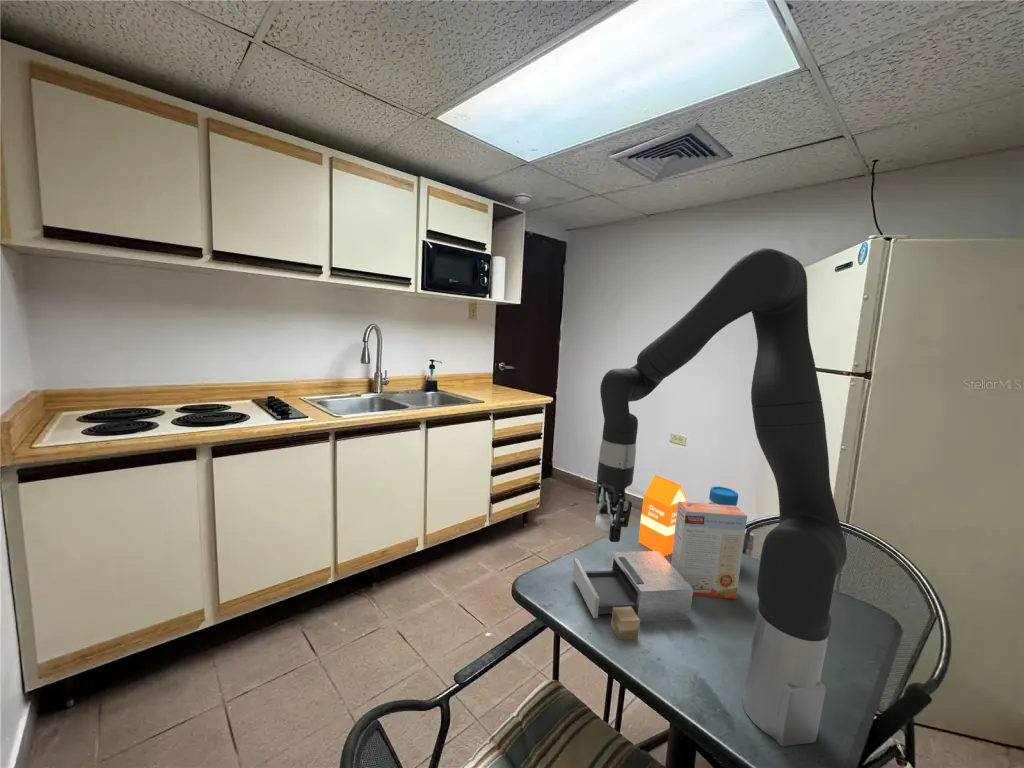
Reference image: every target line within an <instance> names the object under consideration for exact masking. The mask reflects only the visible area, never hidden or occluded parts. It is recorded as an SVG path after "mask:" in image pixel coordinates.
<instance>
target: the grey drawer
mask: <svg viewBox="0 0 1024 768" xmlns="http://www.w3.org/2000/svg"><path fill="white" fill-rule="evenodd" d="M582 566H583V565H582V564H581V562H580V560H579V559H578V558H575V557H574V559H573V567H572V568H573V569H572V577H573V580H574V581H575V583H576V585H577V588H578V590H579V591H580V594H581V596H582V597H583V600H584V602H585V603H586V606H587V608H588V610H589V611H590V614H591V615H592V618H593V619H598V616H599V615H600V614H601V615H603V614H612V611H613V607H632V609H633V610H634V612H636V605H637V597H638V594H637V593H636V591H635V590H634V588H633V587H632V586H631V584H630V583H629V581H628V580H627V579H626V577H625V576H624V574H623V573H622V571H621V570H611V569H609V570H584V568H583V567H582Z"/></svg>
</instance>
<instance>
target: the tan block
mask: <svg viewBox="0 0 1024 768" xmlns="http://www.w3.org/2000/svg"><path fill="white" fill-rule="evenodd" d="M640 623H641V622H640V619H639V618H638V616H637V615H636V613H635V612H634V610H633V609H632V607H613V611H612V613H611V622H610V626H611V628H612V629H613V631H614V633H615V636H616V637H617V639H618V640H633V639H635V640H636V639H639V631H640V626H641V625H640Z"/></svg>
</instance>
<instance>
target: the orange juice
mask: <svg viewBox="0 0 1024 768" xmlns="http://www.w3.org/2000/svg"><path fill="white" fill-rule="evenodd" d="M678 502H688V501H687V499H686V496H685V493H684V491H683V487H682V484H679V483H677V482H674V481H671V480H669V479H667V478H665V477H661V476H659V475H657V474H654V475H653V477H652V480H651V481H650V483H649V485H648V486H647V489H646V491H645V492H644V494H643V499H642V509H641V514H640V524H639V525H640V526H639V533H638V534H639V535H638V543H639V544H640V545H643V546H645V547H647V548H648V549H650V551H659V552H660V554H661V555H662V556H663V557H667V556H669V555H672V551H673V542H674V533H675V524H676V516H677V507H678ZM668 554H669V555H668ZM666 555H667V556H666Z"/></svg>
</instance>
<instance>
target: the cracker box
mask: <svg viewBox="0 0 1024 768" xmlns="http://www.w3.org/2000/svg"><path fill="white" fill-rule="evenodd" d="M747 521H748V515H747V513H745V512H743V511H742V510H741V509H740V508H739V507H738V506H737V505H736V506H731V505H717V504H709V503H700V502H689V501H687V502H678V507H677V516H676V524H675V533H674V542H673V551H672V553H671V561H670V564H671V565H672V566H673V568H674V569H675V570H676V571H677V572H678V573H679V574H680V575H681V576H682V577H683V578H684V579H685V581H686V582H687V583H688V584H689V585H690V586H691V587H692V588H693V596H695V597H708V598H721V599H731V600H736V599H737V594H738V588H739V578H740V573H741V565H742V558H743V550H744V545H745V543H744V542H745V536H746V530H747V529H746V527H747V523H748V522H747Z"/></svg>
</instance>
